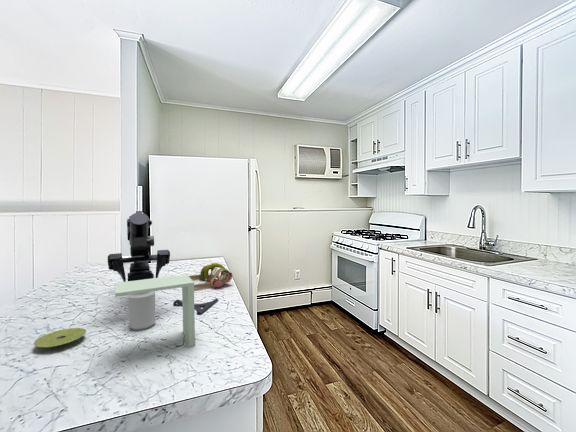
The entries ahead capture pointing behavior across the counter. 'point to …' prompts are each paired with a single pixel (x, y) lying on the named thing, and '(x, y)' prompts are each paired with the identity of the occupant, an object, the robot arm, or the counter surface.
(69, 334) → the olive green disc
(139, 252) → the robot arm
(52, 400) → the counter surface
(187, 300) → the shelf
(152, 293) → the can
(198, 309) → the bracket
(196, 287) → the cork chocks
